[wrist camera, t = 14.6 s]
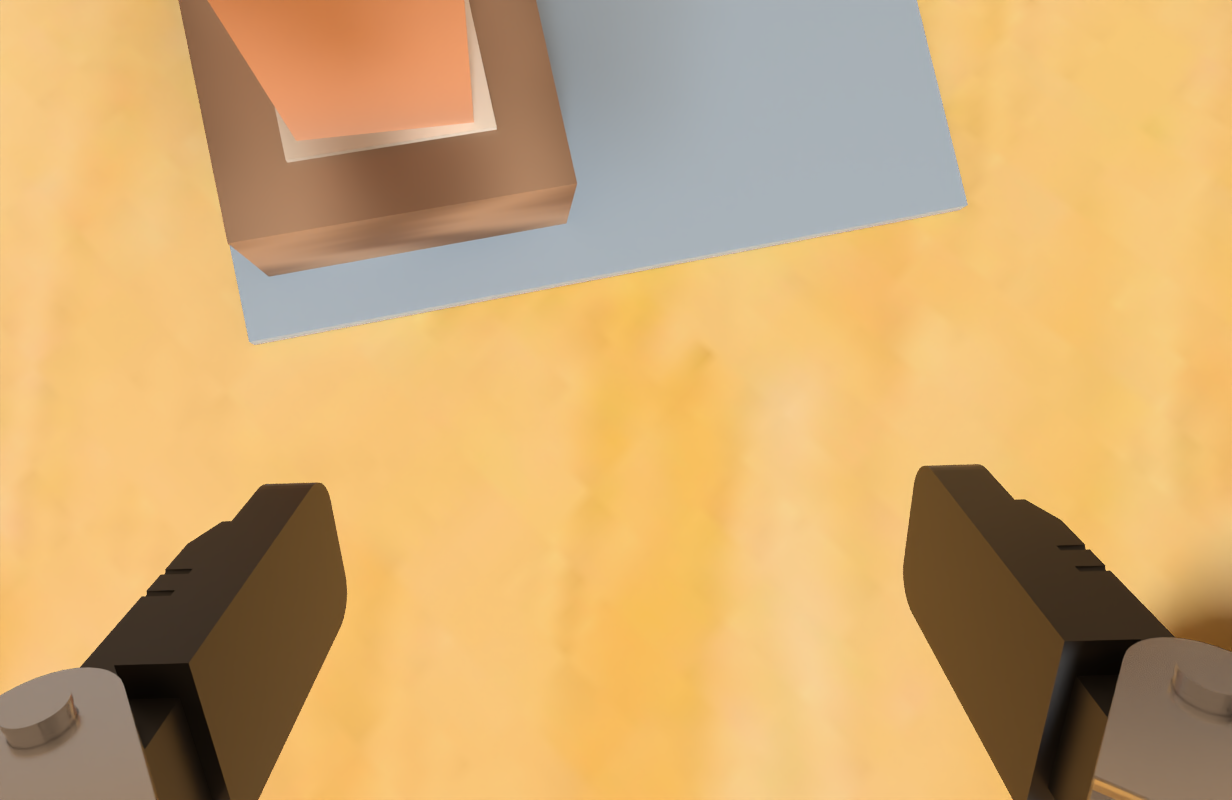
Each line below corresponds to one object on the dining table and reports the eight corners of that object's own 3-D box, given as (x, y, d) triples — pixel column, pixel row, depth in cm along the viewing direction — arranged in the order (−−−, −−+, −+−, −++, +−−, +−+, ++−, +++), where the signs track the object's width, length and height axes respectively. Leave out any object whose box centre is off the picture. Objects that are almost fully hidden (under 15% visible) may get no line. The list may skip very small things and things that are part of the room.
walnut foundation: (505, -50, 28) (506, -138, 24) (566, 223, 28) (578, 181, 24) (209, -13, 27) (156, -101, 23) (268, 276, 26) (225, 241, 22)
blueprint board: (872, -135, 31) (880, -146, 31) (958, 209, 31) (967, 205, 30) (173, -55, 27) (166, -66, 27) (254, 344, 27) (249, 342, 26)
